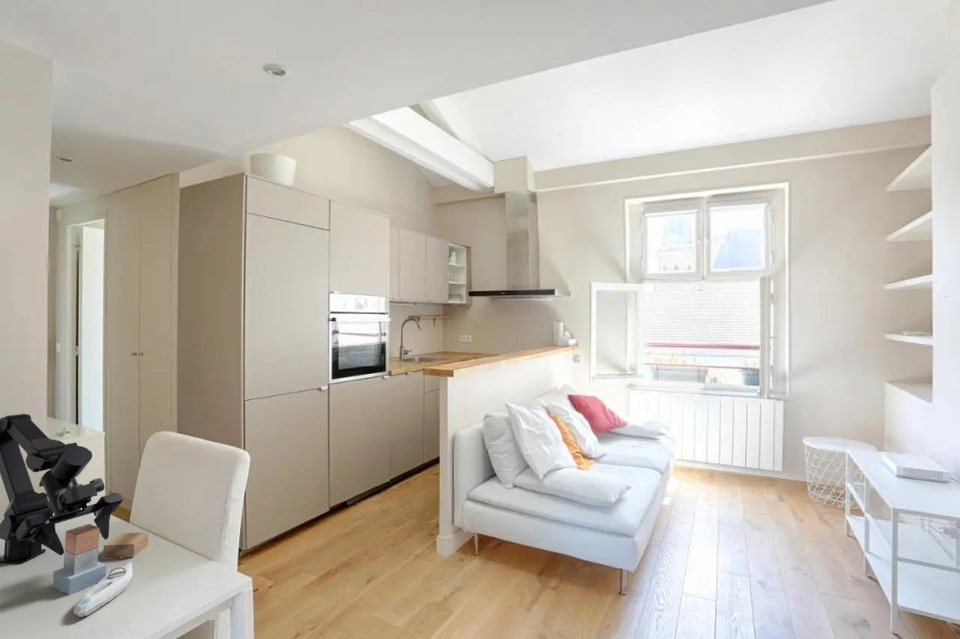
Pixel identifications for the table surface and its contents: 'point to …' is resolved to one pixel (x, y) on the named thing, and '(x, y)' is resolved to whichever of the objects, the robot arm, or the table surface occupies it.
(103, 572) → the stand
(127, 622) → the table surface
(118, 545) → the stand
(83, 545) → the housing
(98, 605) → the spaceship
